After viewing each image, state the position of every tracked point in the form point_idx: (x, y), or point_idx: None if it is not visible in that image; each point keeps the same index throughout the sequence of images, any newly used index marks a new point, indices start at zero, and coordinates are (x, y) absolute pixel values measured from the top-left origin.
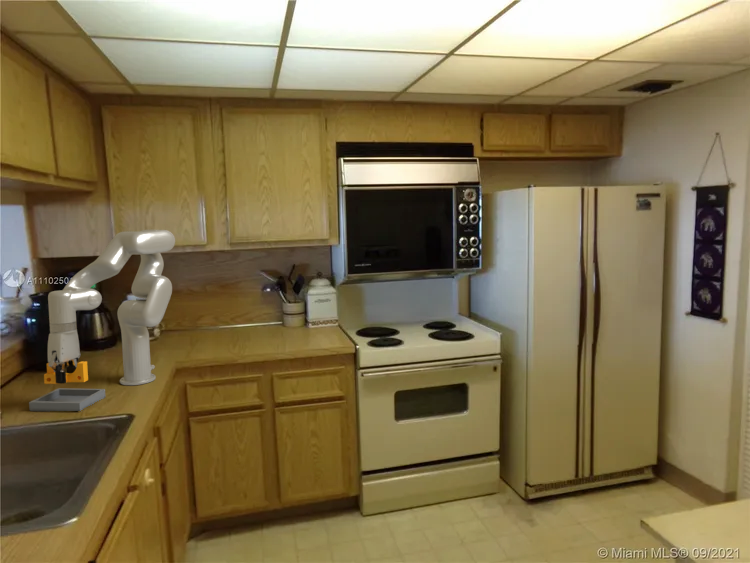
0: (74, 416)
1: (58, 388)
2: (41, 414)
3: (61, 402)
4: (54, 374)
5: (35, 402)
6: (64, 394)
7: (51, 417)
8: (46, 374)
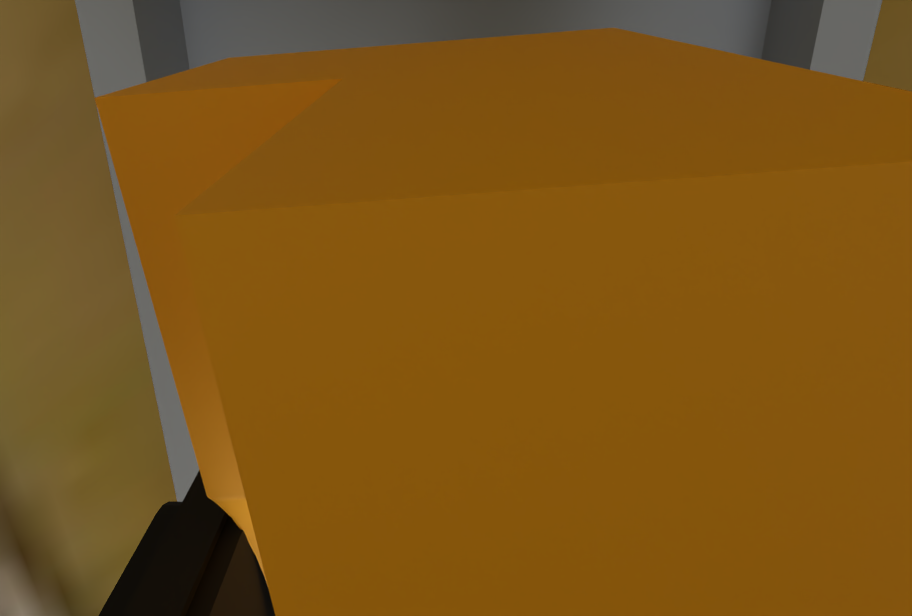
0: (121, 552)
1: None
2: (71, 176)
3: (174, 423)
4: (211, 486)
5: (79, 10)
6: (768, 46)
7: (28, 359)
8: (130, 215)
